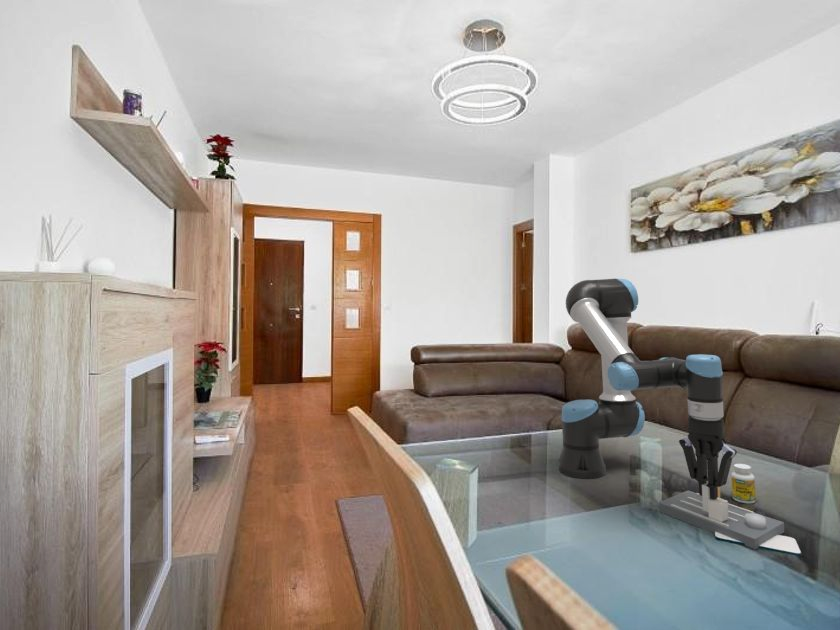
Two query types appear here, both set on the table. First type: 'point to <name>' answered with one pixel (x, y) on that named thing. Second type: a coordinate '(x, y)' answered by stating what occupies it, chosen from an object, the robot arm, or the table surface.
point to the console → (737, 526)
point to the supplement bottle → (743, 484)
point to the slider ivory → (718, 509)
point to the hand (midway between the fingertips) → (708, 509)
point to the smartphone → (769, 543)
